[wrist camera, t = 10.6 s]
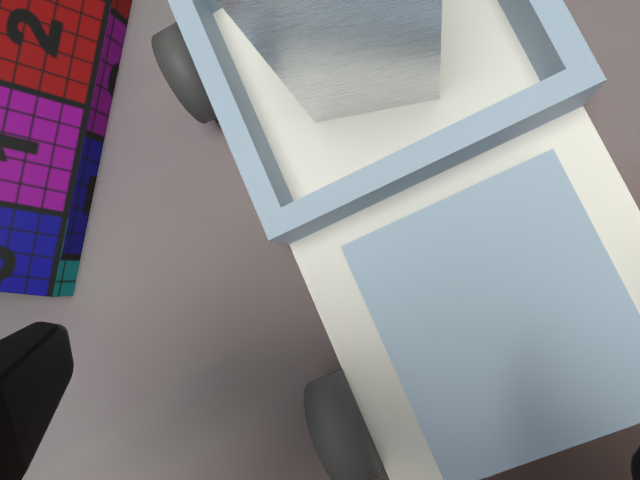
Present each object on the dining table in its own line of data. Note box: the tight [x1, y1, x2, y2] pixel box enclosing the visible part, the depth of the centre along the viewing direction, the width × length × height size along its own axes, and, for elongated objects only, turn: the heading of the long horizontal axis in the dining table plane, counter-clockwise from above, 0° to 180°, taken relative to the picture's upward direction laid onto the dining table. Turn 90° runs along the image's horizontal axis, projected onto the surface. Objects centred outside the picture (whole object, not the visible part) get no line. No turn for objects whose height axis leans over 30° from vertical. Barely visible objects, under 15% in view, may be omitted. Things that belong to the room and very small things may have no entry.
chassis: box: [152, 0, 640, 480], centre depth 17 cm, size 20×13×4 cm
